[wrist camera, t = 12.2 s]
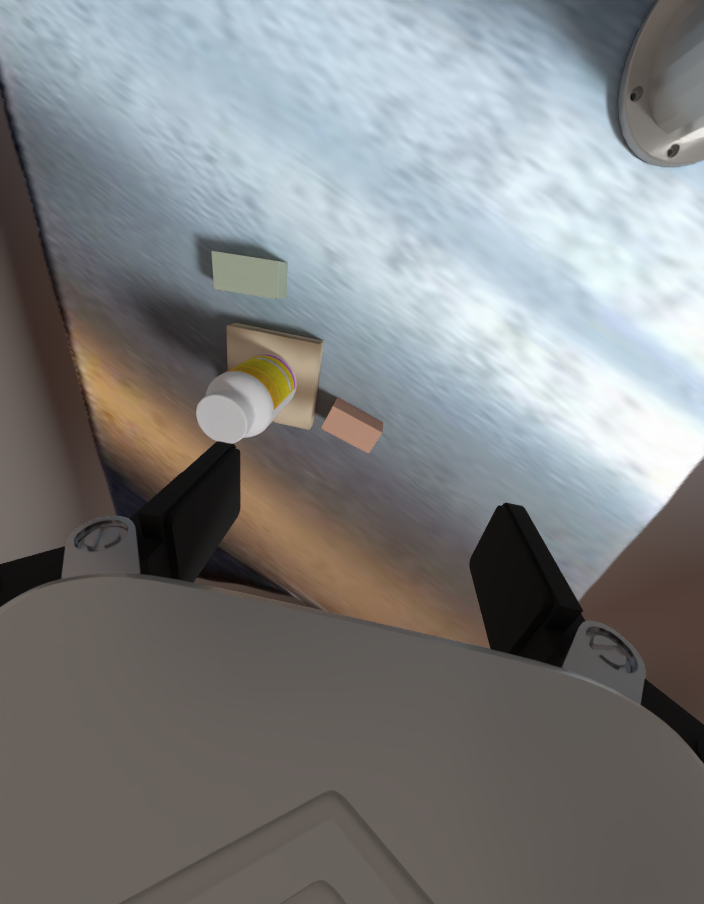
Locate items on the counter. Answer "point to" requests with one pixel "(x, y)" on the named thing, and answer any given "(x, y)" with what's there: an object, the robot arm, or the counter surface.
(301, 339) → the maple slab
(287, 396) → the supplement bottle
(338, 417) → the terracotta brick
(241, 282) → the sage brick
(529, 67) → the counter surface
